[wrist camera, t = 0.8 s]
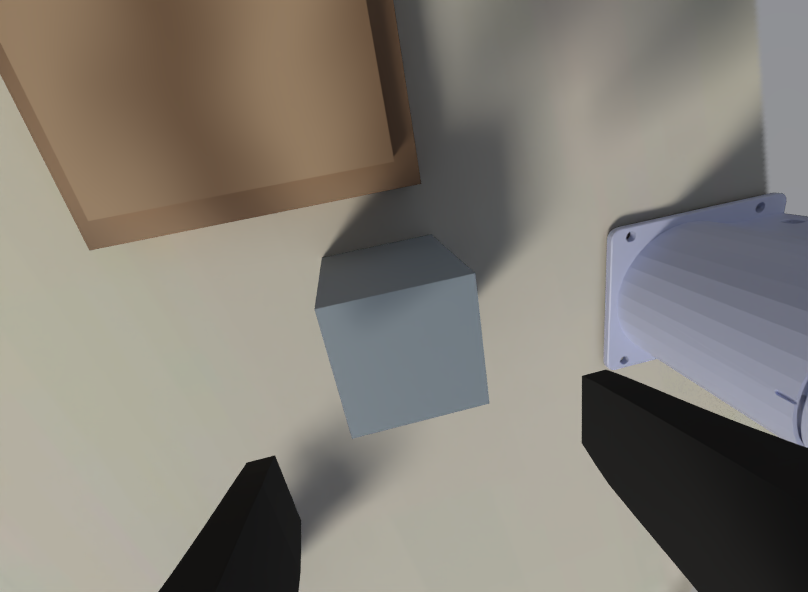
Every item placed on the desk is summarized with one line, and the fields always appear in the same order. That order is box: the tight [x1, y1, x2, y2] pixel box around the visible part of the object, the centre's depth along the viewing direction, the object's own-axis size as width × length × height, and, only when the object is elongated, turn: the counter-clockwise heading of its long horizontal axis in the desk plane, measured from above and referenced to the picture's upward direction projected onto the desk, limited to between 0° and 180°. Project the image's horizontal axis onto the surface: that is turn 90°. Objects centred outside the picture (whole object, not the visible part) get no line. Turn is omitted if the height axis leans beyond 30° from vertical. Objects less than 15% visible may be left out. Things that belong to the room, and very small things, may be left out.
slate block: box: [315, 235, 489, 439], centre depth 15 cm, size 5×5×6 cm
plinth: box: [0, 0, 421, 250], centre depth 12 cm, size 12×12×3 cm
